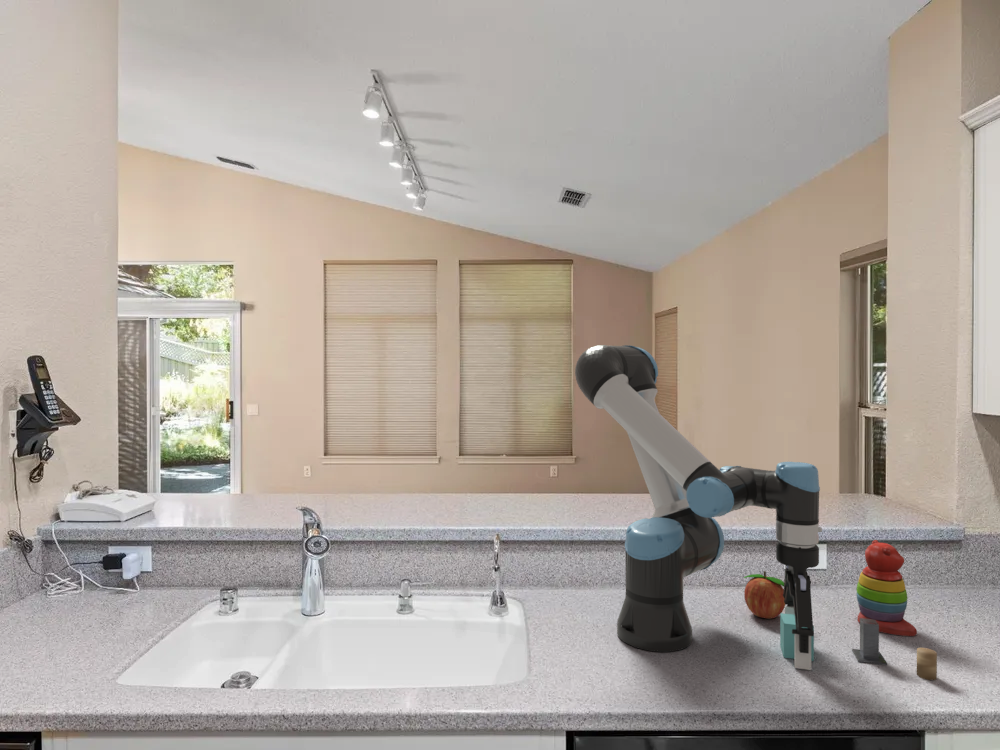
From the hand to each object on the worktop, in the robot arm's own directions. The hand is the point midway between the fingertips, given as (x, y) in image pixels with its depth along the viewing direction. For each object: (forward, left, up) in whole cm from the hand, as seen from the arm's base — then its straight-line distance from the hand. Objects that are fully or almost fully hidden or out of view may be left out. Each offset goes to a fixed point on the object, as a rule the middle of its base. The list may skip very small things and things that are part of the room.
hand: (797, 652), depth 122 cm
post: (+13, +2, 0) cm, 13 cm away
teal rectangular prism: (0, 0, 0) cm, 0 cm away
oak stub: (+21, -3, 0) cm, 21 cm away
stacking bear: (+20, +20, 0) cm, 28 cm away
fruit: (-4, +18, 0) cm, 18 cm away
